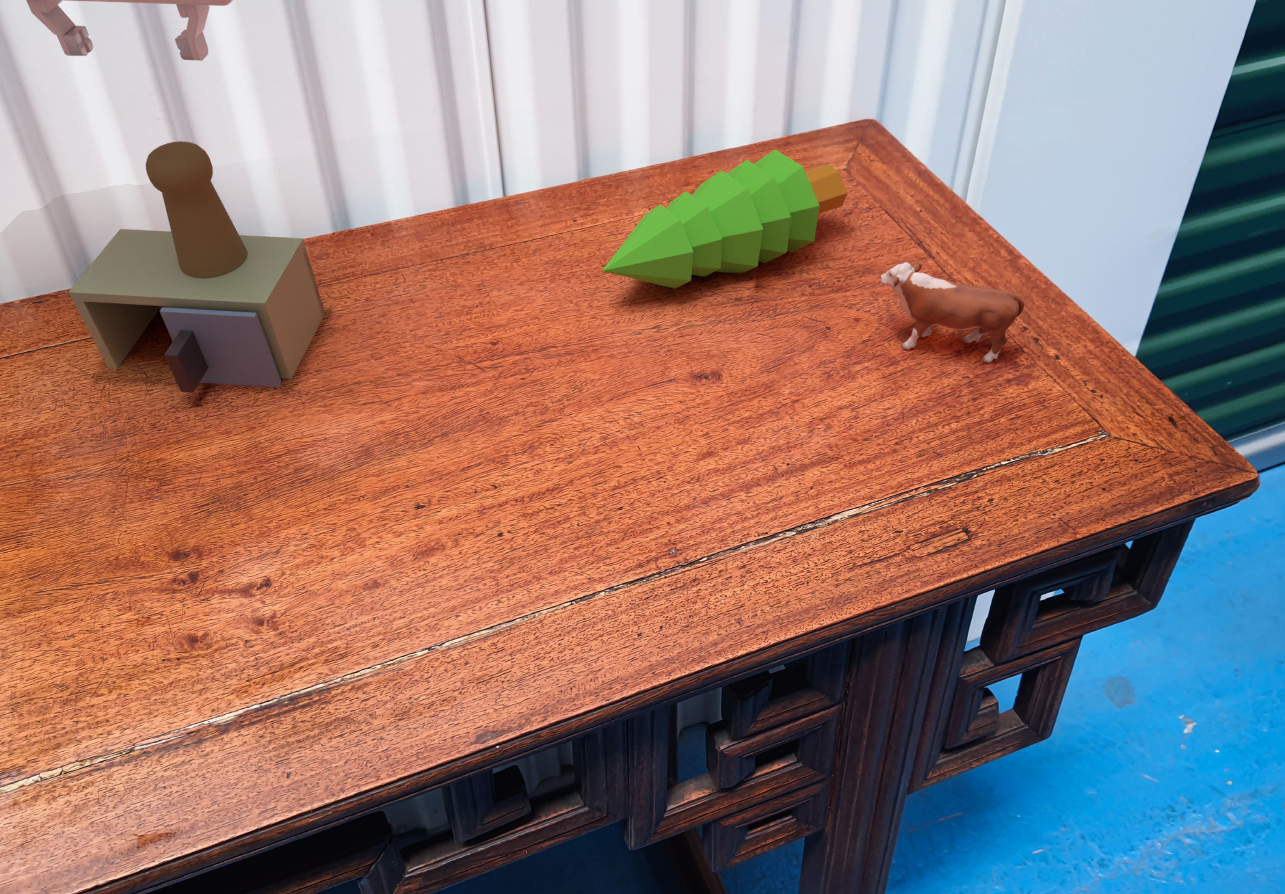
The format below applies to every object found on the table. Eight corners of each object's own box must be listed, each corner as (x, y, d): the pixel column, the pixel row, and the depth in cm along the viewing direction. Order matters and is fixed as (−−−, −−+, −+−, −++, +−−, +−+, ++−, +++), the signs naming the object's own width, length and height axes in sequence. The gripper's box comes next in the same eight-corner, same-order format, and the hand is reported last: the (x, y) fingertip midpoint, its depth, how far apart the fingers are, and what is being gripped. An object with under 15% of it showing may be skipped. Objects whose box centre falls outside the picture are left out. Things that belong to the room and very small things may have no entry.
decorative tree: (860, 133, 102) (619, 218, 89) (871, 241, 107) (644, 337, 94) (787, 132, 111) (559, 209, 98) (800, 232, 116) (584, 317, 103)
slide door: (175, 407, 90) (141, 335, 84) (193, 378, 93) (162, 307, 87) (266, 413, 90) (239, 341, 84) (282, 383, 93) (256, 312, 87)
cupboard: (104, 387, 94) (59, 302, 87) (157, 311, 102) (120, 228, 95) (288, 398, 93) (258, 313, 85) (327, 321, 101) (303, 238, 93)
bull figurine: (873, 316, 101) (887, 248, 95) (1009, 345, 97) (1032, 276, 92) (864, 342, 98) (878, 274, 92) (1005, 373, 95) (1028, 304, 89)
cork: (192, 286, 88) (147, 176, 80) (170, 254, 92) (125, 145, 84) (257, 262, 91) (220, 153, 83) (234, 232, 94) (196, 125, 86)
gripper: (-110, -133, 66) (-11, 68, 76) (185, -126, 65) (247, 78, 75) (-55, -161, 71) (32, 33, 80) (223, -155, 69) (277, 42, 79)
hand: (138, 55), depth 78 cm, fingers open, 8 cm apart
